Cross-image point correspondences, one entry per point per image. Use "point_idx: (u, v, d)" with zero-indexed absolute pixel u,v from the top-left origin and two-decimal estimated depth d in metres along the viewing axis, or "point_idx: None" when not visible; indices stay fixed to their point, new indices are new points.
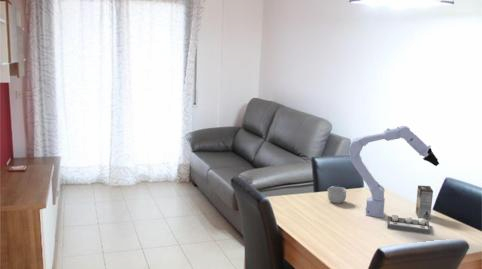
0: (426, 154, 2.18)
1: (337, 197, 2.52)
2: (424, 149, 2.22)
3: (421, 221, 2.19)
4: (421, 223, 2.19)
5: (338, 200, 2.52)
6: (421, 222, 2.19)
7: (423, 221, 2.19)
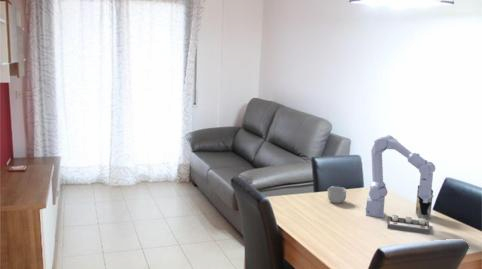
0: (426, 201, 2.11)
1: (337, 197, 2.52)
2: (427, 195, 2.15)
3: (421, 221, 2.19)
4: (421, 223, 2.19)
5: (338, 200, 2.52)
6: (421, 222, 2.19)
7: (423, 221, 2.19)
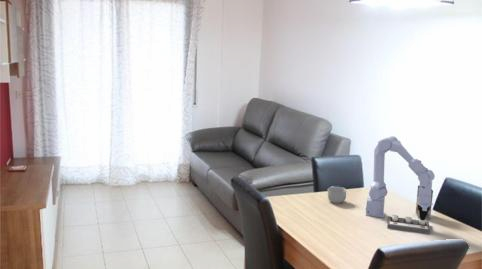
0: (425, 209, 2.12)
1: (337, 197, 2.52)
2: (426, 203, 2.16)
3: (421, 221, 2.19)
4: (421, 223, 2.19)
5: (338, 200, 2.52)
6: (421, 222, 2.19)
7: (423, 221, 2.19)
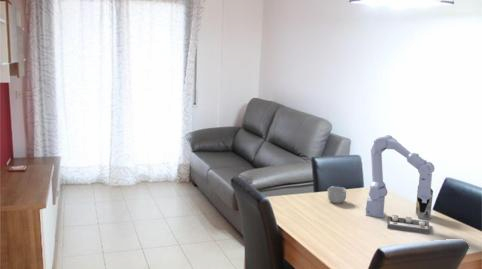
0: (425, 201, 2.11)
1: (337, 197, 2.52)
2: (426, 195, 2.15)
3: (421, 224, 2.19)
4: None
5: (338, 200, 2.52)
6: None
7: (423, 224, 2.19)
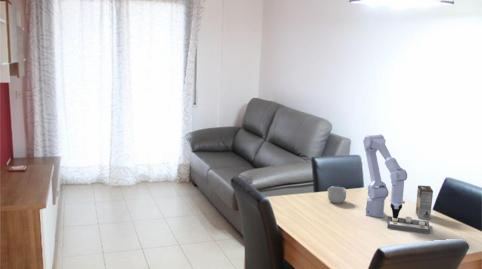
0: (396, 207, 2.16)
1: (337, 197, 2.52)
2: (398, 201, 2.20)
3: (421, 224, 2.19)
4: None
5: (338, 200, 2.52)
6: None
7: (423, 224, 2.19)
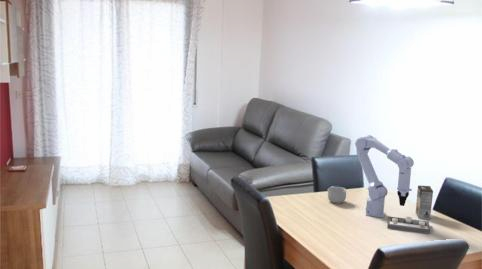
0: (403, 194, 2.18)
1: (337, 197, 2.52)
2: (405, 189, 2.22)
3: (421, 224, 2.19)
4: None
5: (338, 200, 2.52)
6: None
7: (423, 224, 2.19)
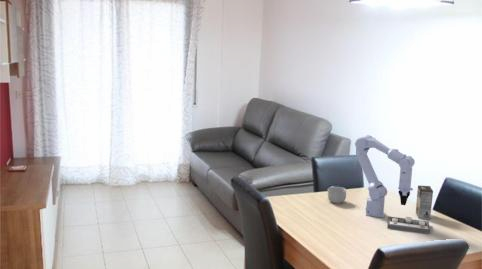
0: (405, 194, 2.19)
1: (337, 197, 2.52)
2: (406, 188, 2.22)
3: (421, 224, 2.19)
4: None
5: (338, 200, 2.52)
6: None
7: (423, 224, 2.19)
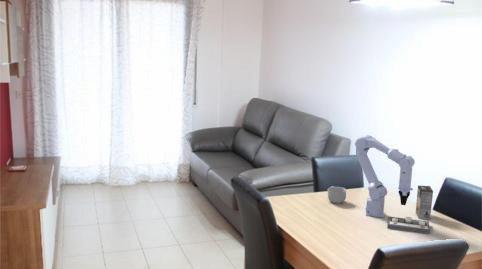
0: (405, 194, 2.19)
1: (337, 197, 2.52)
2: (406, 188, 2.22)
3: (421, 224, 2.19)
4: None
5: (338, 200, 2.52)
6: None
7: (423, 224, 2.19)
